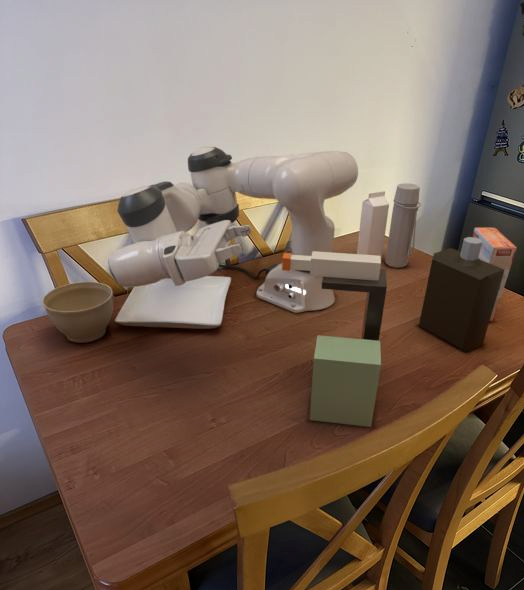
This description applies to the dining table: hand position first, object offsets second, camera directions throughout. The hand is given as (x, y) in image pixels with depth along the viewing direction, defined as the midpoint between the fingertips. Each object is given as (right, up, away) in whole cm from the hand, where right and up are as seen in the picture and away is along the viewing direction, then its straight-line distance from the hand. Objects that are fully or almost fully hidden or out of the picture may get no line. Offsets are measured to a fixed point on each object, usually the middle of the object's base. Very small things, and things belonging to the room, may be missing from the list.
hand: (246, 238), depth 95 cm
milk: (+39, +8, +67) cm, 78 cm away
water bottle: (+47, +5, +63) cm, 79 cm away
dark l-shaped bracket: (+21, -28, +13) cm, 38 cm away
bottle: (+50, -18, +28) cm, 61 cm away
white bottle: (+16, -7, 0) cm, 18 cm away
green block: (+19, -34, +4) cm, 39 cm away
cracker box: (+61, -11, +39) cm, 74 cm away
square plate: (-20, -10, +40) cm, 46 cm away
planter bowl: (-41, -18, +29) cm, 54 cm away
